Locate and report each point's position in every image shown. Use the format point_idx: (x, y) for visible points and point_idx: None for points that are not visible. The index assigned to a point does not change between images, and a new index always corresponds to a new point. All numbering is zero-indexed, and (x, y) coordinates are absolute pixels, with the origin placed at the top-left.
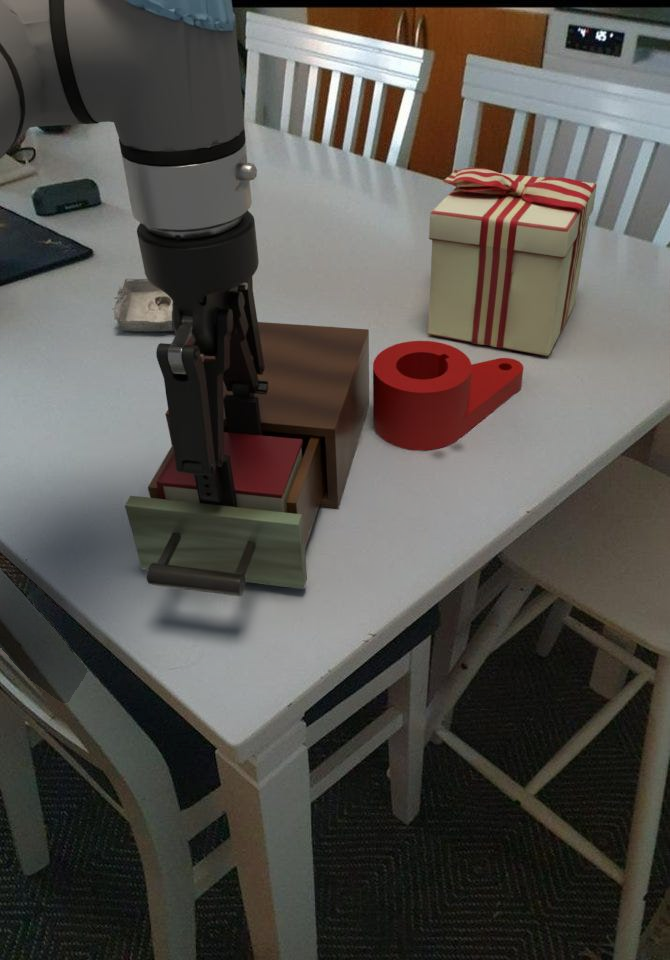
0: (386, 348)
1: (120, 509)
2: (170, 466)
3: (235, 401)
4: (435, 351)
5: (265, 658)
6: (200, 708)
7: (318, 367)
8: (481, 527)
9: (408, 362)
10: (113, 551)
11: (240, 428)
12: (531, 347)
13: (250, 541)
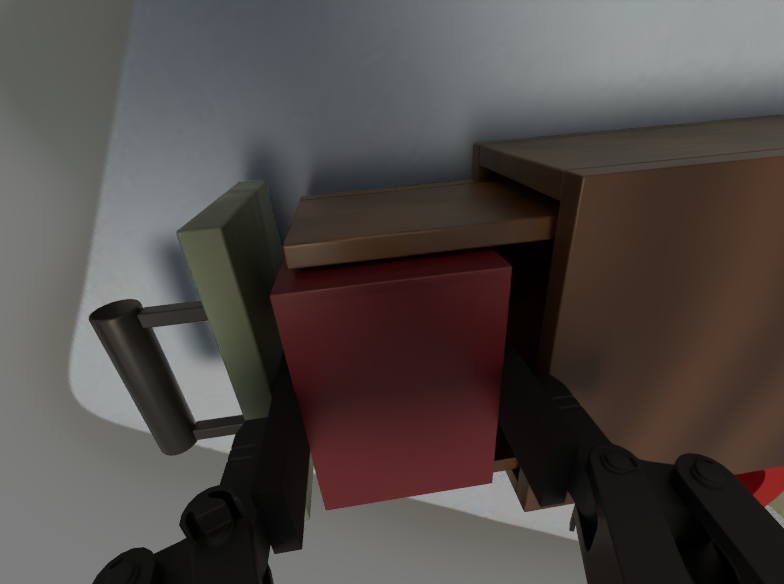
0: None
1: (402, 26)
2: (342, 301)
3: (546, 468)
4: (759, 494)
5: (190, 393)
6: (75, 361)
7: (737, 429)
8: (457, 496)
9: None
10: (280, 80)
11: (507, 400)
12: None
13: None
